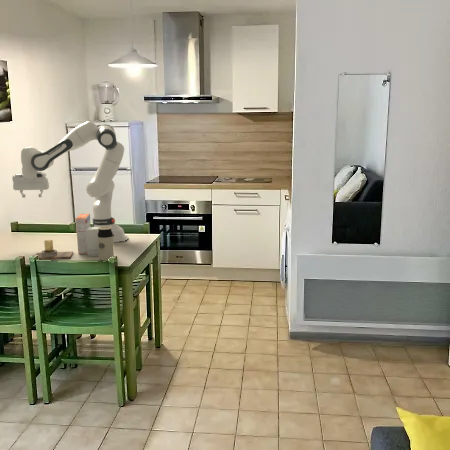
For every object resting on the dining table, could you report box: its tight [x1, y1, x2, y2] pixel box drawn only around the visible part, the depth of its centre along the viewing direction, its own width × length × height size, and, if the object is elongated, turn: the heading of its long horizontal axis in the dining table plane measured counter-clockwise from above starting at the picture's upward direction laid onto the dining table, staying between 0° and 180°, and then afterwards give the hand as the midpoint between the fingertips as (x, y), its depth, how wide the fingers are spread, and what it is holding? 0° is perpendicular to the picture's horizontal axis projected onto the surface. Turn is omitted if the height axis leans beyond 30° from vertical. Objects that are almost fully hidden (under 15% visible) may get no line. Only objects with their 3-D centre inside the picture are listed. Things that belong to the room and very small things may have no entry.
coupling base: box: [34, 249, 74, 260], centre depth 288 cm, size 20×11×3 cm, turn 98°
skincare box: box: [86, 226, 99, 257], centre depth 291 cm, size 8×7×16 cm
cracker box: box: [75, 213, 92, 255], centre depth 299 cm, size 14×6×21 cm, turn 4°
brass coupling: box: [43, 239, 54, 253], centre depth 287 cm, size 4×4×8 cm
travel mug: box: [98, 226, 115, 261], centre depth 281 cm, size 8×8×18 cm
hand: (32, 197), depth 310 cm, fingers open, 8 cm apart
